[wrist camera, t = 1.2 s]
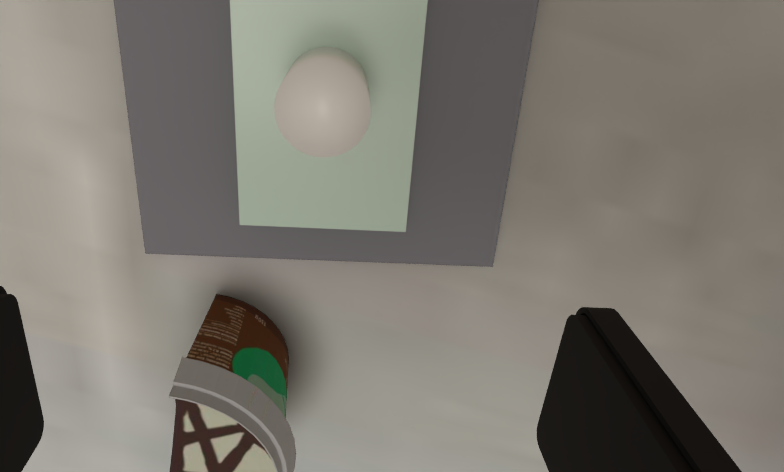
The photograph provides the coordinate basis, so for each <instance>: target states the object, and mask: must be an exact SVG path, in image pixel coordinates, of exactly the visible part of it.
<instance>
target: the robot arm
mask: <svg viewBox="0 0 784 472" xmlns="http://www.w3.org/2000/svg"><path fill="white" fill-rule="evenodd" d="M43 427H44V420H43V415H42V410H41V406H40V401H39V396H38V392H37V387H36V383H35V378H34V374H33V369H32V365H31V360H30V356H29V351H28V346H27V342H26V337H25V333H24V328H23V324H22V319H21V315H20V310H19V306H18V302H17V299H16V298H15V296H14V295H12V294H7V293H6V291H5V289H4V288H3V287H2V286H0V472H21V471H22V470H23V468H24V466H25V465H26V463H27V462H28V460H29V458H30V457H31V455H32V453H33V452H34V450H35V448H36V447H37V445H38V443H39V441H40V439H41V436H42V433H43ZM537 441H538V445H539V448H540V451H541V453H542V456H543V458H544V461H545V463H546V465H547V468H548V470H549V472H741V470H740V469H739V468H738V466H737V465H736V464H735V463H734V461H733V460H732V459H731V457H730V456H729V455H728V454H727V452H726V451H725V450H724V448H723V447H722V446H721V445H720V443H719V442H718V441H717V439H716V438H715V437H714V435H713V434H712V433H711V432H710V430H709V429H708V428H707V426H706V425H705V424H704V423H703V421H702V420H701V419H700V417H699V416H698V415H697V414H696V412H695V411H694V410H693V408H692V407H691V406H690V405H689V403H688V402H687V401H686V399H685V398H684V397H683V396H682V394H681V393H680V392H679V390H678V389H677V388H676V387H675V385H674V384H673V383H672V381H671V380H670V379H669V378H668V376H667V375H666V374H665V372H664V371H663V370H662V369H661V367H660V366H659V365H658V363H657V362H656V361H655V360H654V358H653V357H652V356H651V354H650V353H649V352H648V351H647V349H646V348H645V347H644V345H643V344H642V343H641V342H640V340H639V339H638V338H637V336H636V335H635V334H634V333H633V331H632V330H631V329H630V327H629V326H628V325H627V324H626V322H625V321H624V320H623V318H622V317H621V316H620V315H619V313H618V312H617V311H616V310H615V309H611V308H589V307H582V308H580V309H579V310H578V311H577V313H576V315H570V316H569V317H568V319H567V321H566V325H565V328H564V332H563V335H562V339H561V343H560V346H559V350H558V353H557V357H556V361H555V364H554V368H553V371H552V375H551V379H550V382H549V386H548V389H547V393H546V397H545V400H544V404H543V407H542V411H541V415H540V418H539V422H538V426H537Z"/></svg>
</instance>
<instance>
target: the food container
mask: <svg viewBox="0 0 784 472" xmlns="http://www.w3.org/2000/svg"><path fill="white" fill-rule="evenodd" d="M288 362H289V356H288V349H287V345H286V343H285V340H284V338H283V336H282V334H281V332H280V330H279V329H278V328H277V327H276V325H275V324H274V323H273V322H272V321H271V320H270V319H269V318H268V317H267V316H266V315H265V314H263V313H262V312H261V311H259V310H258V309H256V308H255V307H253V306H251V305H249V304H247V303H245V302H243V301H240V300H237V299H234V298H231V297H227V296H223V295H218V294H216V296H215V298H214V300H213V303H212V305H211V307H210V309H209V311H208V313H207V315H206V317H205V320H204V322H203V324H202V326H201V328H200V330H199V332H198V334H197V336H196V339H195V341H194V343H193V345H192V347H191V349H190V351H189V353H188V355H187V358H183V357H182V359H181V362H180V365H179V368H178V370H177V373H176V376H175V379H174V382H173V387H172V390H171V392H170V395H169V398H174V399H175V401H176V415H175V426H174V437H173V447H172V456H171V465H170V472H293V471H294V468H295V459H296V449H295V441H294V437H293V434H292V431H291V428H290V426H289V424H288V422H287V420H286V400H287V381H288Z"/></svg>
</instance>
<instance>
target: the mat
mask: <svg viewBox="0 0 784 472" xmlns="http://www.w3.org/2000/svg"><path fill="white" fill-rule="evenodd" d="M538 1H539V0H428V2H427V13H426V23H425V34H424V45H423V55H422V66H421V76H420V87H419V98H418V108H417V119H416V129H415V140H414V150H413V161H412V172H411V182H410V193H409V203H408V214H407V224H406V232H393V231H370V230H347V229H323V228H300V227H277V226H253V225H240V222H239V199H238V176H237V153H236V130H235V108H234V85H233V62H232V39H231V16H230V0H114V6H115V14H116V22H117V30H118V38H119V46H120V54H121V62H122V70H123V78H124V86H125V94H126V102H127V110H128V118H129V126H130V134H131V142H132V150H133V158H134V166H135V174H136V182H137V190H138V199H139V207H140V215H141V223H142V231H143V239H144V247H145V253H146V254H172V255H198V256H225V257H251V258H277V259H303V260H330V261H356V262H382V263H408V264H435V265H461V266H487V267H493V262H494V257H495V251H496V245H497V239H498V233H499V228H500V222H501V216H502V210H503V204H504V198H505V193H506V187H507V181H508V175H509V169H510V164H511V158H512V152H513V146H514V140H515V135H516V129H517V123H518V117H519V111H520V106H521V100H522V94H523V88H524V82H525V76H526V71H527V65H528V59H529V53H530V47H531V42H532V36H533V30H534V24H535V18H536V13H537V7H538Z"/></svg>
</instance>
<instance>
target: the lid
mask: <svg viewBox="0 0 784 472" xmlns="http://www.w3.org/2000/svg"><path fill="white" fill-rule="evenodd" d="M427 2H428V0H230V16H231V39H232V62H233V85H234V108H235V130H236V153H237V176H238V199H239V222H240V225H253V226H277V227H300V228H323V229H347V230H370V231H393V232H406V224H407V214H408V203H409V193H410V182H411V172H412V161H413V150H414V140H415V129H416V119H417V108H418V98H419V87H420V76H421V66H422V55H423V45H424V34H425V23H426V13H427Z"/></svg>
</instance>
